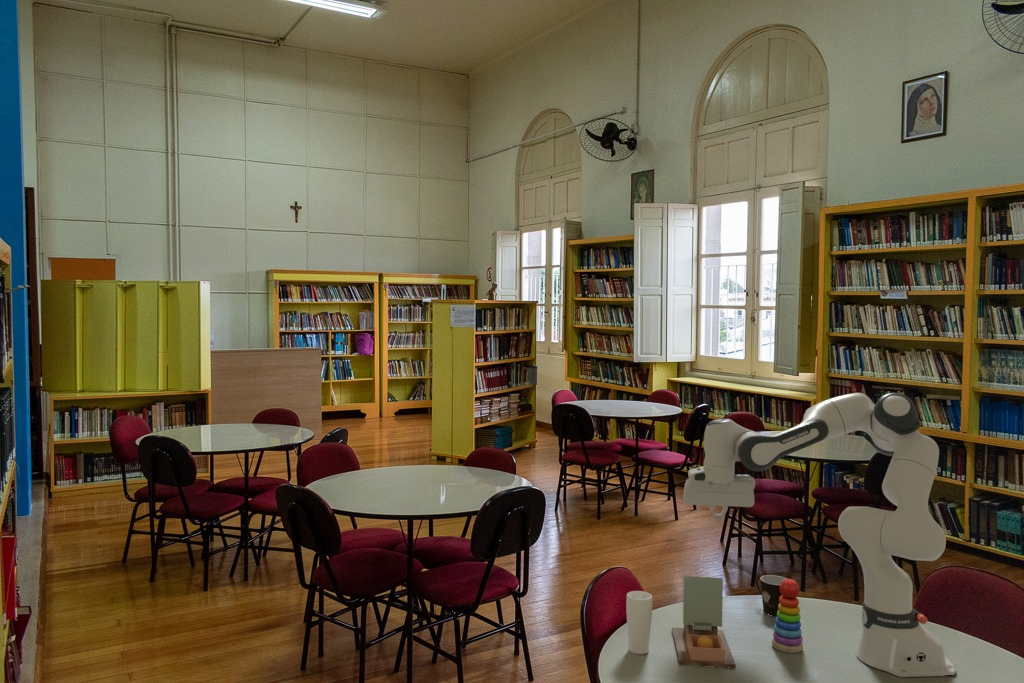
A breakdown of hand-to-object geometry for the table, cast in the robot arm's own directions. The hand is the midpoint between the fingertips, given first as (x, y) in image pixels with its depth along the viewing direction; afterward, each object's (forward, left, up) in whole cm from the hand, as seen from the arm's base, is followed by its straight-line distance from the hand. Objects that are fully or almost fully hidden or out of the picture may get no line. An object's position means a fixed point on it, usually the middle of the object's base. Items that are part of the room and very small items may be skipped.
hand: (718, 520), depth 218 cm
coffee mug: (-18, -8, -29) cm, 35 cm away
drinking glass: (+24, +26, -29) cm, 46 cm away
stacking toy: (-16, +18, -29) cm, 38 cm away
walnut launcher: (+7, +22, -29) cm, 37 cm away
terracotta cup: (+7, +28, -29) cm, 41 cm away
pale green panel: (+7, +22, -24) cm, 33 cm away
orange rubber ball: (+7, +27, -26) cm, 38 cm away
